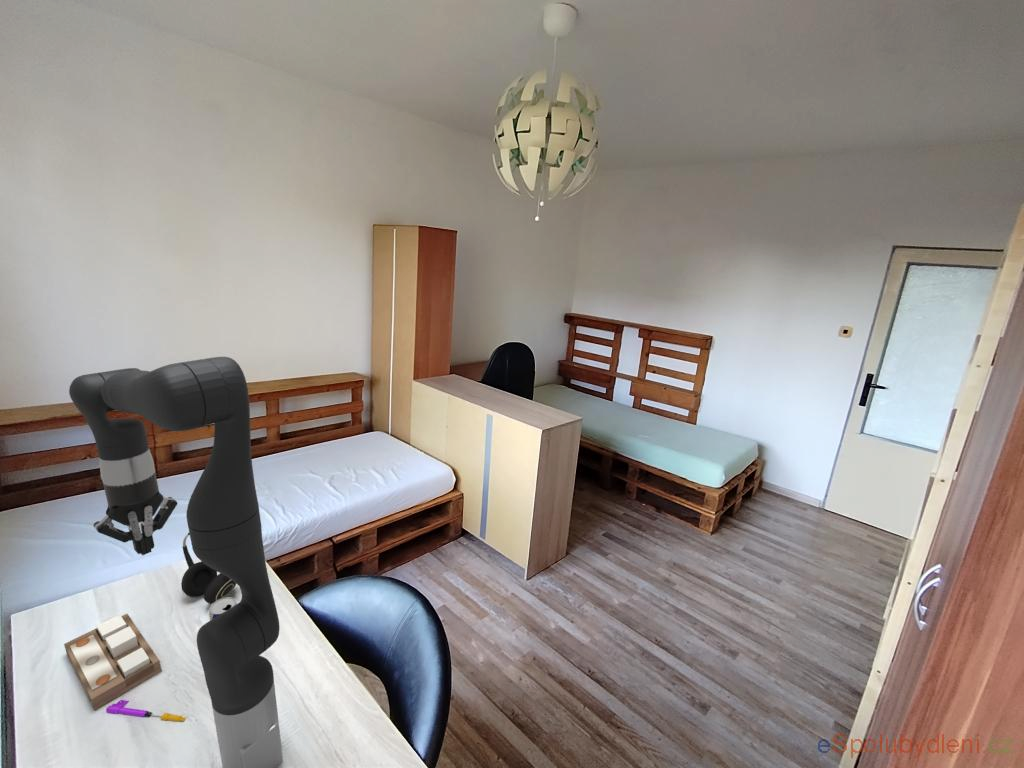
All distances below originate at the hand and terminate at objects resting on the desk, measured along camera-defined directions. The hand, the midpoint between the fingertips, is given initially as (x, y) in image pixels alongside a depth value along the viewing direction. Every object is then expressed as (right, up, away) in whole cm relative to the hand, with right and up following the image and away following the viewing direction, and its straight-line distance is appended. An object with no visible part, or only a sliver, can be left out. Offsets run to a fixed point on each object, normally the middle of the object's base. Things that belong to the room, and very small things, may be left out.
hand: (145, 552), depth 88 cm
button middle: (-13, -25, +10) cm, 30 cm away
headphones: (-6, -23, +29) cm, 37 cm away
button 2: (-8, -28, +7) cm, 30 cm away
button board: (-15, -28, +9) cm, 33 cm away
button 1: (-19, -25, +14) cm, 34 cm away
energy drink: (+7, -28, +15) cm, 32 cm away
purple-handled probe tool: (+1, -32, 0) cm, 32 cm away
